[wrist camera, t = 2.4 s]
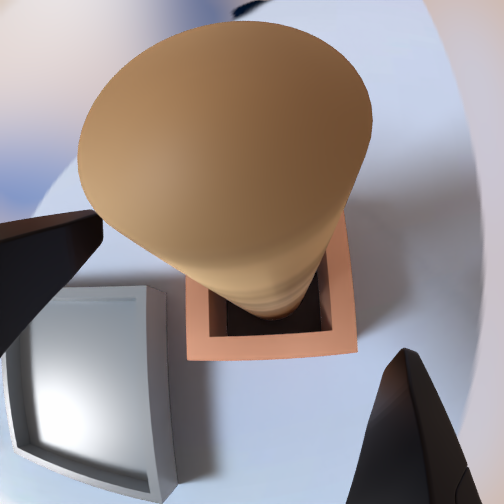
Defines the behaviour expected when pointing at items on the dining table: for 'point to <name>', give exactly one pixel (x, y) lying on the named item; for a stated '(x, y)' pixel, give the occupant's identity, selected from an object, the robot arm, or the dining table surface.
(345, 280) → the terracotta socket
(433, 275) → the dining table surface
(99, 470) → the tray
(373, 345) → the dining table surface
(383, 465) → the robot arm
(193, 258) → the oak dowel
